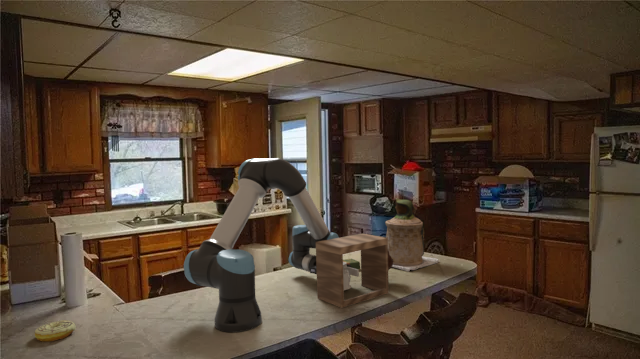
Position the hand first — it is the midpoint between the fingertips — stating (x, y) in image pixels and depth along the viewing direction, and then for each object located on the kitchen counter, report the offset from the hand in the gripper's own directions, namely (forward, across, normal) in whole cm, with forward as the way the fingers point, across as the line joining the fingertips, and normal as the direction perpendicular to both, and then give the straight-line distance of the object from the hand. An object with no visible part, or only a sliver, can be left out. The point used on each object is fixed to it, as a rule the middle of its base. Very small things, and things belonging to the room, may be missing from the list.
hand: (350, 275), depth 168 cm
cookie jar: (-17, -51, -8) cm, 54 cm away
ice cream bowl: (-2, -19, -8) cm, 21 cm away
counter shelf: (+2, +1, -7) cm, 8 cm away
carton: (-29, -20, -8) cm, 36 cm away
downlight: (-5, 0, -6) cm, 8 cm away
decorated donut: (-33, +95, -8) cm, 101 cm away
